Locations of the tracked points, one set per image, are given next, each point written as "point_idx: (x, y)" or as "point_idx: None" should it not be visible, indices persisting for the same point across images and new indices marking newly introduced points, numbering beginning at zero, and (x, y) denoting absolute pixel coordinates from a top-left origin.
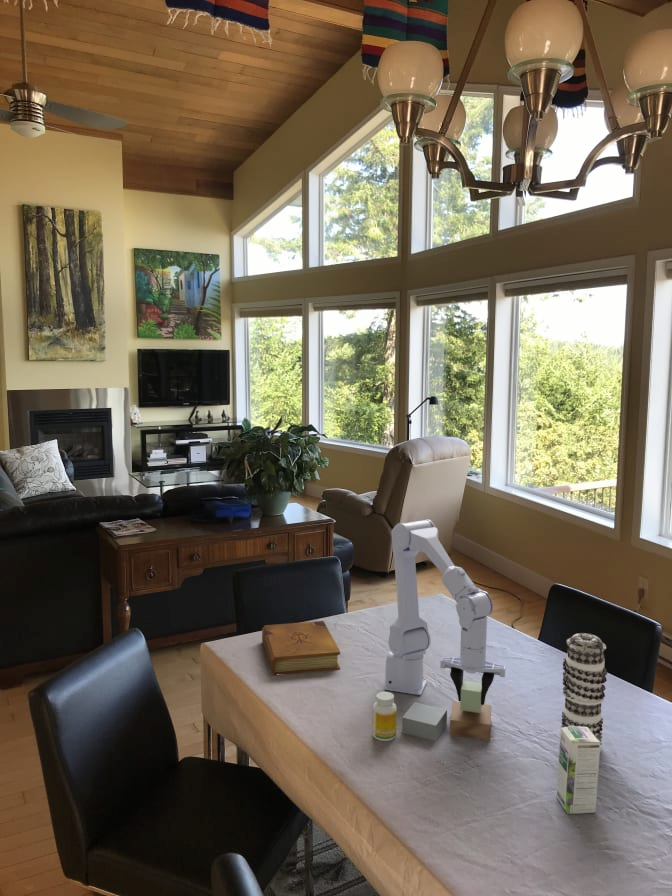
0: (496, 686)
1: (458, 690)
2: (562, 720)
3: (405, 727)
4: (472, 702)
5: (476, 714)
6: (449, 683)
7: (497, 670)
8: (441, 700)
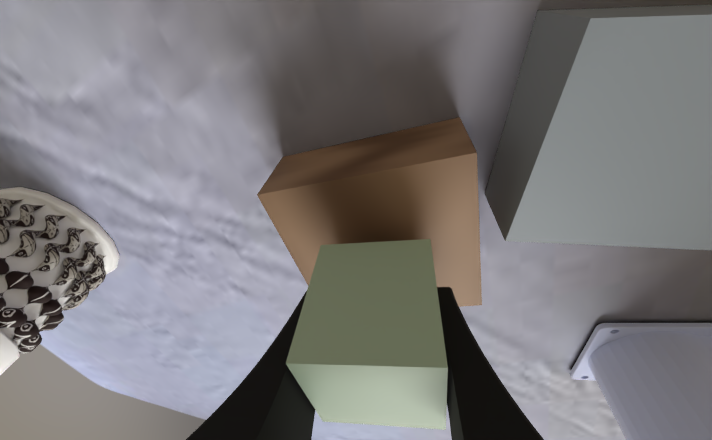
0: None
1: (466, 353)
2: (36, 291)
3: None
4: (357, 286)
5: None
6: None
7: None
8: (516, 316)
